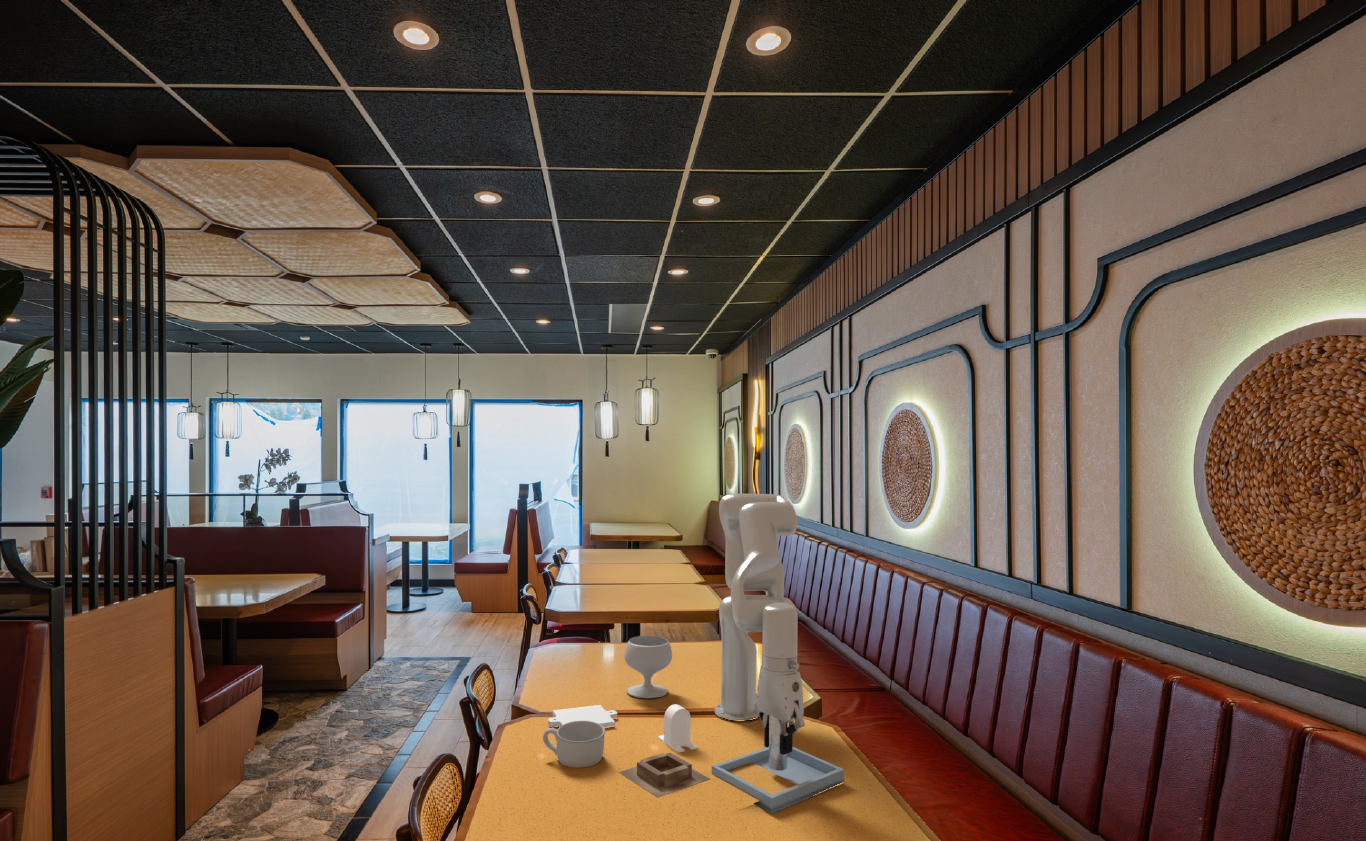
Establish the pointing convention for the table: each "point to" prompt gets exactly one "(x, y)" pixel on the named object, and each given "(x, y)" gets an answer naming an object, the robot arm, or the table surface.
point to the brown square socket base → (663, 774)
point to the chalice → (648, 663)
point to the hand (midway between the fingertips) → (778, 748)
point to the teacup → (577, 743)
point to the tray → (800, 770)
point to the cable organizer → (677, 728)
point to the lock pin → (776, 745)
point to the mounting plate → (583, 716)
